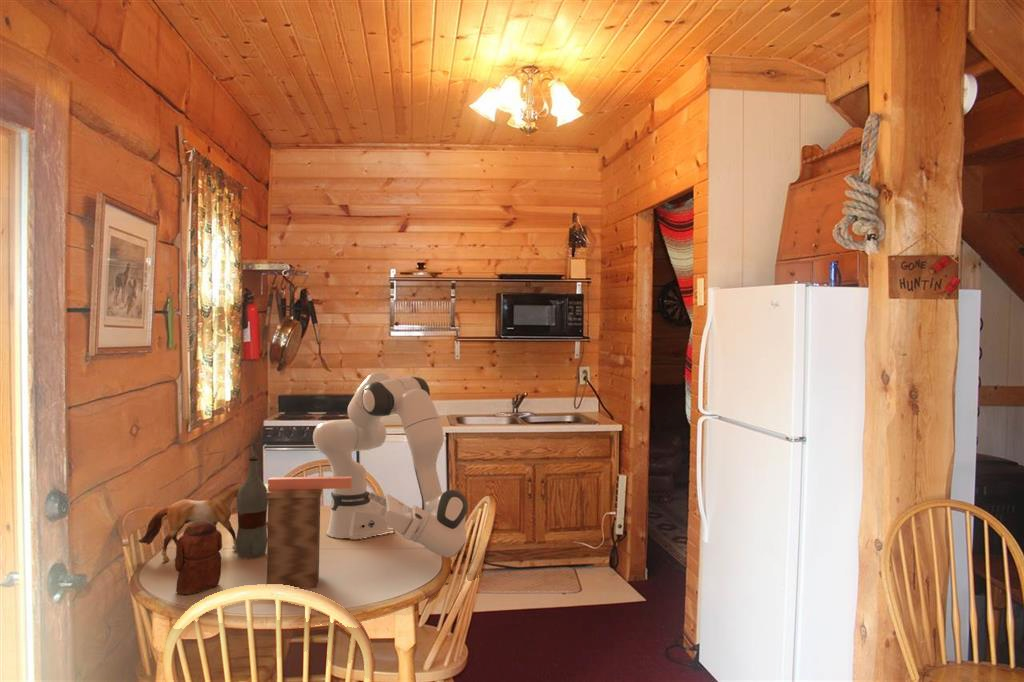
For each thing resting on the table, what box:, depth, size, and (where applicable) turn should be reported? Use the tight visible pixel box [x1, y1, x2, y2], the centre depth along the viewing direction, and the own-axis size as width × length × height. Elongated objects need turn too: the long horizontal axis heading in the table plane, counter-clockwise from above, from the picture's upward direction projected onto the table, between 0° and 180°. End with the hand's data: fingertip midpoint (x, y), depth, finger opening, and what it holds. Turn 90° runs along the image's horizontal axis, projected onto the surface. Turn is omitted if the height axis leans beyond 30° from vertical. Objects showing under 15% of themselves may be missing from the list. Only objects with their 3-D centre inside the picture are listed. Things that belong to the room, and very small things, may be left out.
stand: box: [266, 489, 324, 589], centre depth 204 cm, size 14×10×26 cm
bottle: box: [236, 455, 268, 560], centre depth 228 cm, size 9×9×30 cm
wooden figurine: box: [174, 520, 223, 595], centre depth 198 cm, size 12×6×18 cm, turn 152°
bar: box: [267, 476, 352, 490], centre depth 205 cm, size 22×3×3 cm, turn 101°
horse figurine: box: [138, 482, 244, 562], centre depth 227 cm, size 31×8×21 cm, turn 123°
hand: (369, 498), depth 208 cm, fingers open, 8 cm apart
